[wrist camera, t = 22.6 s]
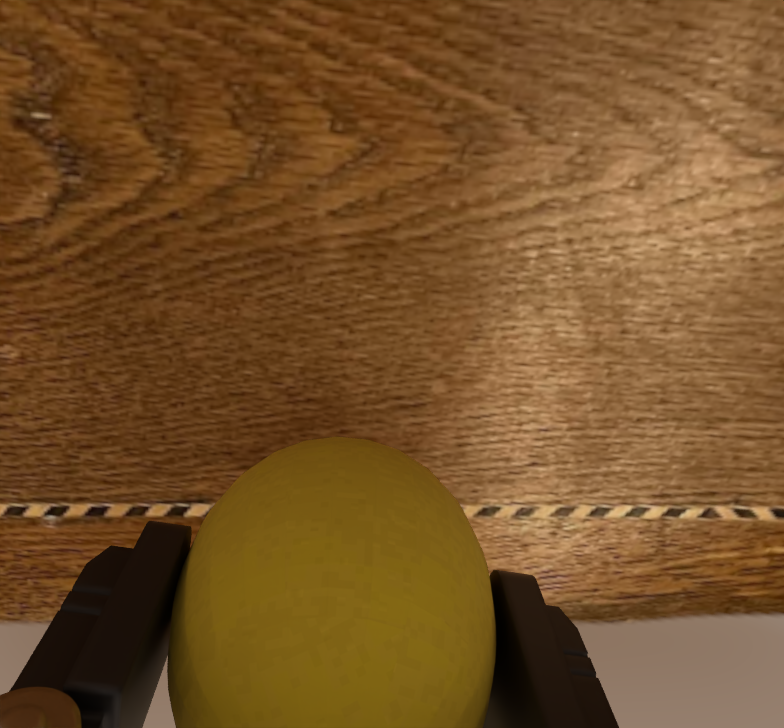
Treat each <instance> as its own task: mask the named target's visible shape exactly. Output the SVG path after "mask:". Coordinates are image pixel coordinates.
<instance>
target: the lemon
mask: <svg viewBox="0 0 784 728" xmlns="http://www.w3.org/2000/svg"><path fill="white" fill-rule="evenodd" d="M495 658H496V622H495V612H494V604H493V597H492V591H491V584H490V577H489V572H488V567H487V563H486V560H485V557H484V554H483V550H482V548H481V546H480V544H479V542H478V539H477V537H476V535H475V533H474V531H473V529H472V527H471V525H470V523H469V521H468V519H467V517H466V515H465V513H464V511H463V509H462V508H461V506H460V504H459V503H458V501H457V500H456V499H455V497H454V496H453V495H452V494H451V493H450V492H449V491H448V490H447V488H446V487H445V486H444V485H443V484H442V483H441V482H440V481H439V480H438V479H437V478H436V476H435V475H434V474H433V473H432V472H431V471H430V470H429V469H427V468H426V467H424V466H423V465H422V464H420V463H418V462H417V461H415V460H414V459H412V458H411V457H409V456H408V455H406V454H404V453H403V452H401V451H400V450H398V449H395V448H392V447H389V446H386V445H383V444H380V443H377V442H374V441H371V440H367V439H357V438H347V437H329V438H321V439H313V440H305V441H303V442H300V443H297V444H294V445H292V446H289V447H286V448H284V449H281V450H278V451H276V452H274V453H272V454H271V455H269V456H268V457H266V458H265V459H263V460H262V461H260V462H259V463H257V464H256V465H254V466H253V467H251V468H250V469H248V470H247V471H246V472H244V473H243V474H242V475H241V476H240V477H239V478H238V479H237V480H236V481H235V482H234V483H233V484H232V485H231V487H230V488H229V489H228V490H227V491H226V492H225V493H224V495H223V496H222V497H221V498H220V499H219V500H218V501H217V502H216V504H215V505H214V506H213V508H212V509H211V510H210V512H209V513H208V514H207V516H206V518H205V519H204V521H203V523H202V525H201V526H200V529H199V531H198V533H197V535H196V538H195V540H194V542H193V544H192V546H191V549H190V551H189V553H188V555H187V558H186V560H185V562H184V565H183V567H182V570H181V573H180V576H179V579H178V582H177V586H176V591H175V596H174V601H173V609H172V618H171V628H170V638H169V648H168V670H167V672H168V690H169V696H170V701H171V707H172V712H173V716H174V720H175V725H176V728H483V725H484V721H485V717H486V714H487V710H488V704H489V699H490V693H491V687H492V682H493V675H494V667H495Z"/></svg>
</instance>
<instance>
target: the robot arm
mask: <svg viewBox="0 0 784 728" xmlns="http://www.w3.org/2000/svg"><path fill="white" fill-rule="evenodd" d="M191 532H192V530H191V526H184V525H177V524H170V523H163V522H156V521H149V522H148V523H147V524H146V526H145V528H144V530H143V532H142V533H141V535H140V537H139V539H138V541H137V543H136V545H135V547H134V549H133V548H125V547H118V546H110V547H108V548H107V549H106V550H104V551H103V552H102V553H100V554H99V555H98V556H96V557H95V558H94V559H92V560H91V561H90V562H88V563H87V564H86V566H85V567H84V569H83V571H82V572H81V574H80V576H79V577H78V579H77V581H76V582H75V584H74V586H73V589H72V591H70V592H69V594H68V596H67V597H66V599H65V601H64V602H63V604H62V606H61V609H60V611H58V612H57V614H56V616H55V617H54V619H53V621H52V622H51V624H50V625H49V627H48V629H47V631H46V632H45V634H44V636H43V637H42V639H41V641H40V642H39V644H38V645H37V647H36V649H35V650H34V652H33V654H32V655H31V657H30V659H29V660H28V662H27V664H26V666H25V667H24V669H23V670H22V672H21V674H20V675H19V677H18V679H17V681H16V682H15V684H14V685H13V687H12V688H11V690H10V691H9V692H8V693H5V694H2V695H0V728H142V727H143V724H144V721H145V718H146V715H147V713H148V710H149V707H150V704H151V701H152V698H153V695H154V692H155V690H156V687H157V684H158V681H159V678H160V676H161V673H162V670H163V667H164V664H165V661H166V658H167V656H168V648H169V638H170V628H171V618H172V609H173V601H174V596H175V591H176V586H177V582H178V579H179V576H180V573H181V570H182V567H183V565H184V562H185V560H186V558H187V555H188V553H189V551H190V543H191ZM489 577H490V584H491V591H492V597H493V604H494V612H495V622H496V658H495V667H494V675H493V682H492V687H491V693H490V699H489V704H488V710H487V714H486V717H485V721H484V725H483V728H619V726H618V724H617V721H616V719H615V717H614V714H613V712H612V710H611V707H610V705H609V702H608V700H607V698H606V695H605V693H604V690H603V688H602V686H601V683H600V681H599V679H598V678H596V672H595V669H594V667H593V665H592V662H591V659H590V658H588V656H587V654H588V652H587V650H586V648H585V645H584V643H583V641H582V638H581V636H580V633H579V631H578V629H577V628H576V626H575V625H574V624H573V623H572V622H571V621H570V619H569V618H568V617H567V616H566V615H565V614H564V613H563V611H562V610H561V609H560V608H559V607H556V606H549V605H545V602H544V599H543V597H542V594H541V591H540V589H539V586H538V583H537V581H536V579H535V577H534V576H533V575H528V574H521V573H514V572H507V571H499V570H494V571H492V573H491V574H490V576H489Z"/></svg>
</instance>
